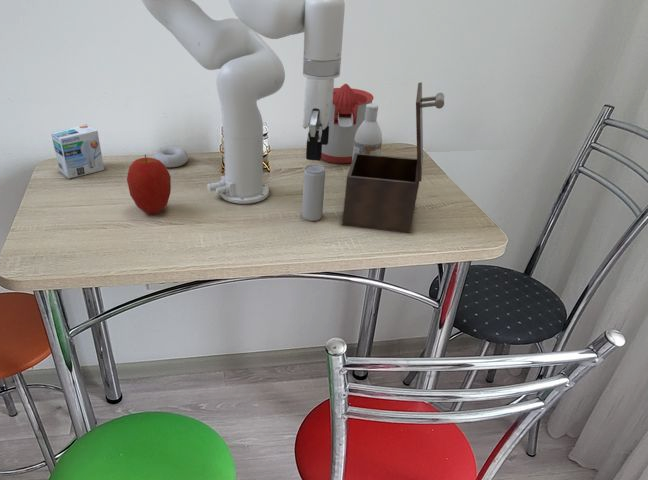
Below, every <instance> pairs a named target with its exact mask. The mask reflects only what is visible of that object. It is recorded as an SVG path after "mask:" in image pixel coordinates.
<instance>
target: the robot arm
mask: <svg viewBox="0 0 648 480" xmlns="http://www.w3.org/2000/svg"><path fill="white" fill-rule="evenodd" d="M141 2H142V3H143V5H144V7H145V8H146V10H147V11H148V12H149V13H150V15H151V16H152V17H153V18H154V19H155V20H157V22H158V23H160V24H161V25H162V26H163V27H164V28H165V29H166V30H167V31H168V32H169V33H171V34H172V35H173V37H174V38H175V39H176V41H178V43H179V44H180V45H181V46H182V47H183V48H184V49H185V50H186V51H187V52H188V53H189V54H190V55H191V57H192V58H193V59H194V60H195V61H196V62H197V63H198V64H199V65H200V66H201V67H203V69H206V70H208V71H216V70H218V72H217V75H216V82H215V83H216V91H217V95H218V98H219V103H220V110H221V117H222V118H221V120H222V134H223V135H222V136H223V155H224V156H223V158H224V159H223V160H224V175H221V179H219V180H218V182H211V183H207V184H206V189H207V191H208V192H215V193H216V194H217V195H219V196H220V198H222V199H223V200H224V201H227V202H230V203H233V204H241V205H248V204H255V203H259V202H262V201H264V200H265V199H267V198H268V197H269V196H270V188H269V186H268V185H267V184H266V183H264V122H263V117H262V113H261V111H260V109H259V106H258V103H257V102H258V101H260V100H261V99H265V98H267V97H270V96H272V95H274V94H276V93H278V92H279V91H280V90H281V89H282V88H283V86H284V83H285V80H286V79H285V78H286V73H285V67H284V64H283V62H282V60H281V59H280V57H279V55H277V53H276V52H275V51H274V50H273V49H272V48H271V46H270V45H268V44H267V42H266V41H265V40H264V39H263V38H262V37H264V38H266V39H270V40H279V39H282V38H286V37H290V36H293V35H294V36H295V35H298V34H302V33H303V58H302V59H303V60H302V61H303V62H302V76H304V77H305V78H306V82H305V88H304V101H303V114H302V115H303V117H302V128H303V129H304V130H305V129H307V128H308V131H307V137H306V149H305V150H306V151H305V159H306V160H308V161H321V160H322V158H321V155H322V145H327V144H328V138H329V126H328V125H329V120H330V118H331V113H332V104H333V91H334V88H335V79H337V78H339V77H340V76H341V65H342V64H341V63H342V50H343V38H344V22H345V7H346V5H345V0H228V2H229V5H230V7H231V9H232V11H233V13H234V15H235V16H236V18H235V17H233V18H223V19H220V20H216V19H213V18H211V17H210V16H209V15H208V14H207V13H206V12H205V11H204V10H203V9H202V8H201V6H200V5H199V4H198V3H197V2H195V1H194V0H141ZM261 36H262V37H261Z"/></svg>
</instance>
